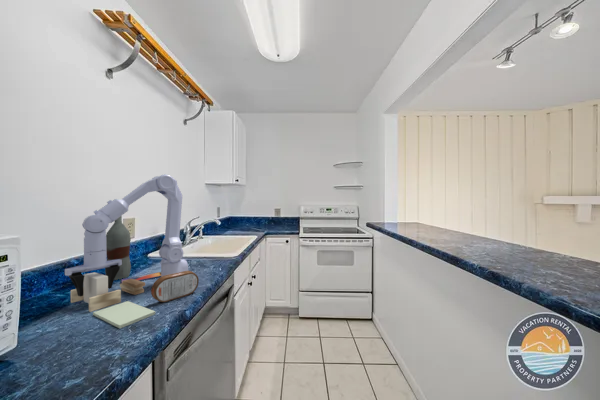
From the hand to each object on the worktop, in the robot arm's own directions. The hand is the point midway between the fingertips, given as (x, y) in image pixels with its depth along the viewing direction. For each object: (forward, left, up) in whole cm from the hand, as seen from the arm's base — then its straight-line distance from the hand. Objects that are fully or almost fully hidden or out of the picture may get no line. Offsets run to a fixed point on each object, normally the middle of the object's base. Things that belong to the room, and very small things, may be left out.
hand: (95, 291), depth 78 cm
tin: (-15, +21, -4) cm, 26 cm away
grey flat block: (0, 0, -4) cm, 4 cm away
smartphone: (-21, -13, -4) cm, 25 cm away
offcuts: (-11, 0, -4) cm, 12 cm away
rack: (0, 0, -4) cm, 4 cm away
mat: (0, +19, -4) cm, 19 cm away
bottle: (-17, -25, -4) cm, 31 cm away
